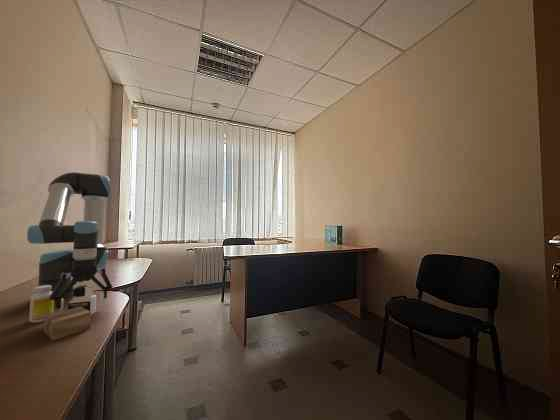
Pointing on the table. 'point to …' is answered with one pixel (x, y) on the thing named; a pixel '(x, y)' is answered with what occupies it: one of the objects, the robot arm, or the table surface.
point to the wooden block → (67, 322)
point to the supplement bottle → (41, 304)
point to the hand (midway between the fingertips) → (82, 311)
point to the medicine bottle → (83, 298)
